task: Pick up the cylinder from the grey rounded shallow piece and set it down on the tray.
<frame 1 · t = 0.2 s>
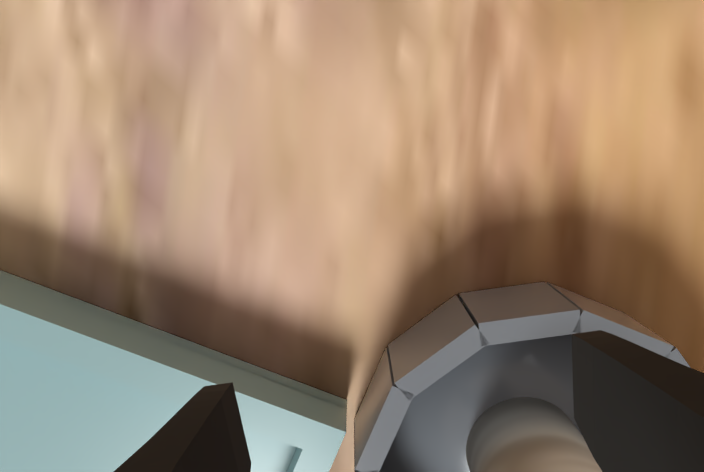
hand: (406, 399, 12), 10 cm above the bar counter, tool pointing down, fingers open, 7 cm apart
grey rounded shallow piece: (516, 438, 23), on the bar counter
cylinder: (522, 449, 23), point 1 cm above the bar counter, touching grey rounded shallow piece
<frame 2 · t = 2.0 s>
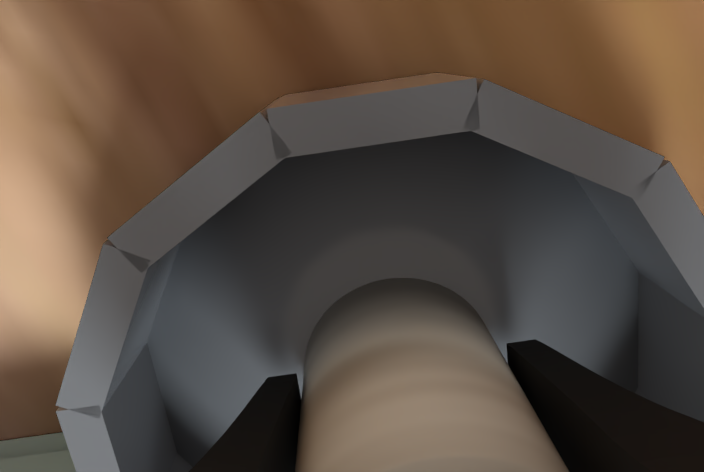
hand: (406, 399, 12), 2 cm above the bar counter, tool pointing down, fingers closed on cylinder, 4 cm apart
grey rounded shallow piece: (395, 349, 14), on the bar counter
cylinder: (399, 365, 13), point 1 cm above the bar counter, touching grey rounded shallow piece, gripper
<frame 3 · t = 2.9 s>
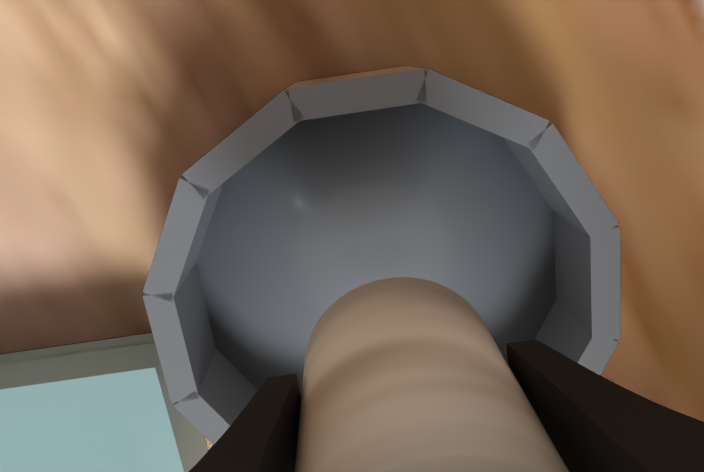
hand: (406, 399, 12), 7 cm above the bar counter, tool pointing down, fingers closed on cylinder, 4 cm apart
grey rounded shallow piece: (378, 272, 19), on the bar counter
cylinder: (399, 365, 13), point 6 cm above the bar counter, touching gripper
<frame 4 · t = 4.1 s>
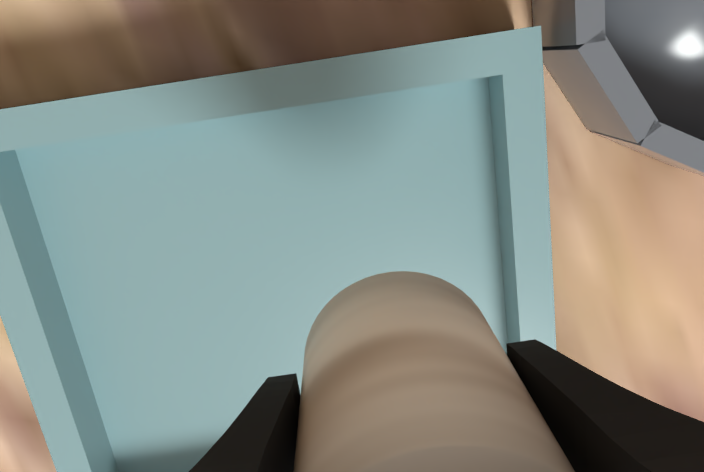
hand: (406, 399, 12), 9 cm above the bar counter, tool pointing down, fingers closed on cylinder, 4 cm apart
cylinder: (399, 359, 13), point 8 cm above the bar counter, touching gripper
tray: (288, 292, 21), on the bar counter
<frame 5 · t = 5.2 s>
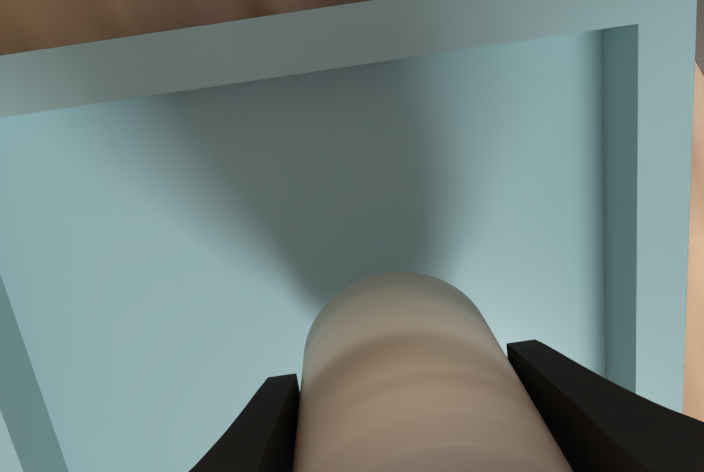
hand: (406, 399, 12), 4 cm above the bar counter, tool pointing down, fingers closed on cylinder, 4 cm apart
cylinder: (398, 360, 13), point 3 cm above the bar counter, touching gripper
tray: (318, 321, 16), on the bar counter
when the fingers open (4 cm above the bar counter, at t = 6.2 s): cylinder drops 1 cm, resting on tray.
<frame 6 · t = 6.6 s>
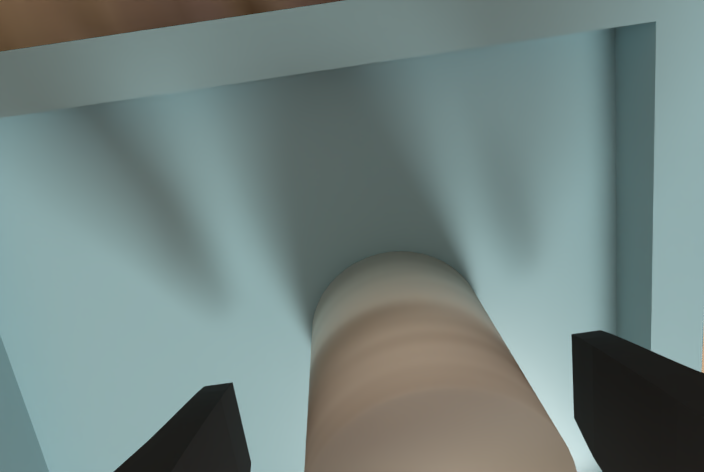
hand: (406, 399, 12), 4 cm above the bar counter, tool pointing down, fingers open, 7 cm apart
cylinder: (397, 331, 15), point 1 cm above the bar counter, touching tray
tray: (317, 332, 16), on the bar counter
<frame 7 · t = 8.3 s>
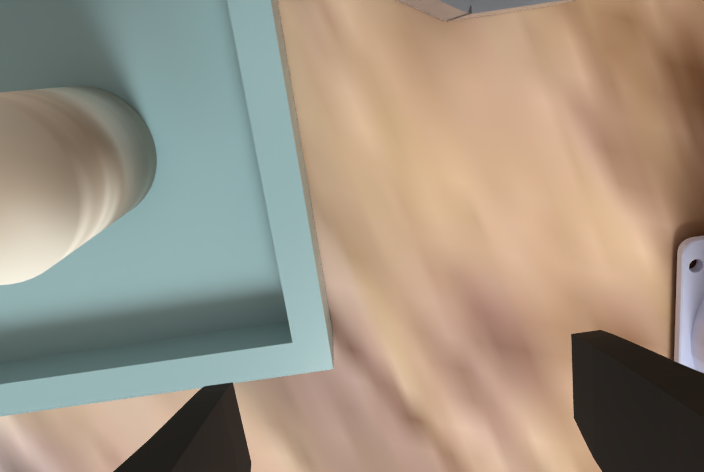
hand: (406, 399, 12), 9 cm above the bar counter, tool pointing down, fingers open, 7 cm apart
cylinder: (88, 155, 19), point 1 cm above the bar counter, touching tray
tray: (38, 163, 20), on the bar counter
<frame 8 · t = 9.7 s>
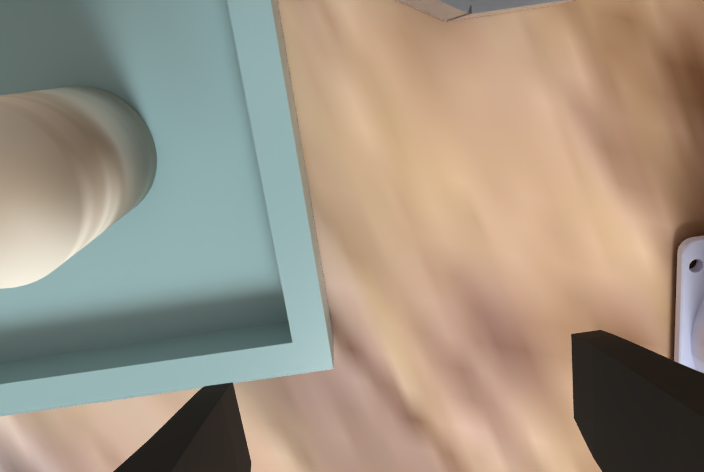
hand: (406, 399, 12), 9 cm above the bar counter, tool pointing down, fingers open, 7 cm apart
cylinder: (88, 154, 19), point 1 cm above the bar counter, touching tray
tray: (38, 163, 20), on the bar counter
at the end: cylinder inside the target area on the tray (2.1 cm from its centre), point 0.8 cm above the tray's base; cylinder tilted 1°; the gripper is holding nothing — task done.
